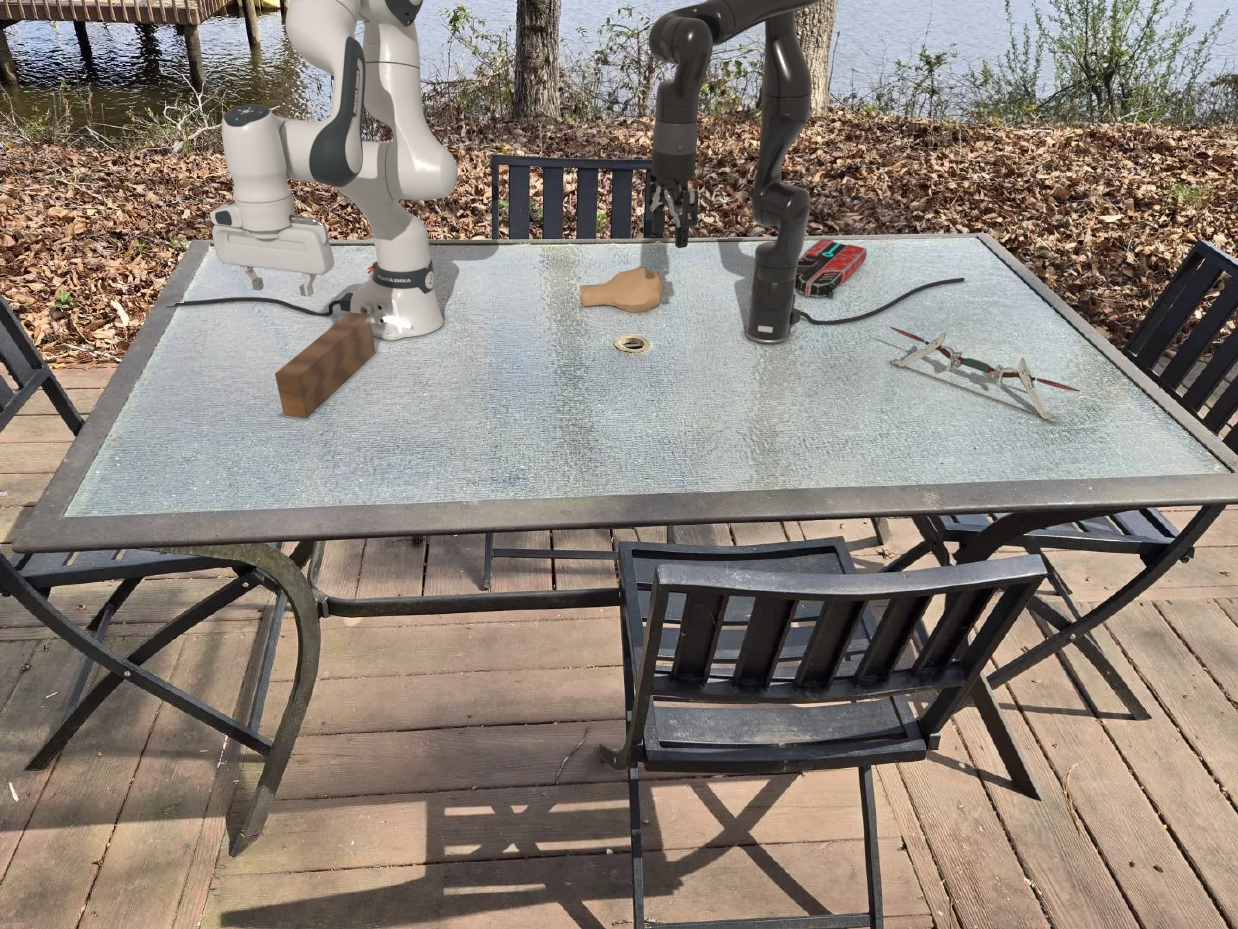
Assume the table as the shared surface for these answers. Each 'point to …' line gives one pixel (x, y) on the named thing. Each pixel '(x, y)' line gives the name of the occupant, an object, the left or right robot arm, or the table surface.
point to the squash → (626, 291)
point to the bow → (994, 374)
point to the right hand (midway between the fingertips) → (669, 239)
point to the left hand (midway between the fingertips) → (282, 292)
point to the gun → (827, 267)
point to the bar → (325, 365)
